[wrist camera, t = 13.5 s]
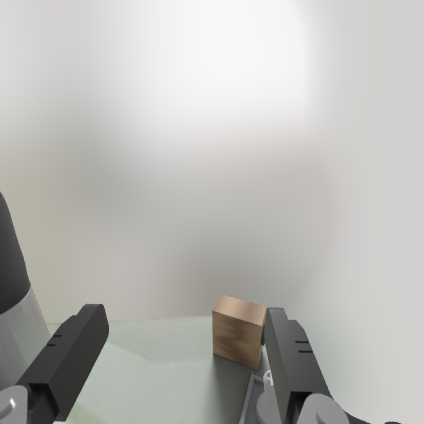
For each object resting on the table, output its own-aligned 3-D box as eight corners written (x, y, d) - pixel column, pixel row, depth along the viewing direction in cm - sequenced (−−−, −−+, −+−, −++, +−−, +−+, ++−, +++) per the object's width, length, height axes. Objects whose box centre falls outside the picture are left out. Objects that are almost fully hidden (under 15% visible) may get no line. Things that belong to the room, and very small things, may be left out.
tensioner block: (213, 353, 40) (212, 310, 37) (220, 335, 44) (221, 294, 40) (263, 372, 37) (267, 328, 33) (267, 351, 41) (272, 308, 37)
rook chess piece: (282, 396, 33) (289, 359, 30) (292, 435, 29) (301, 397, 26) (252, 397, 33) (255, 360, 30) (258, 436, 29) (262, 397, 26)
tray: (237, 434, 30) (237, 428, 29) (250, 379, 36) (251, 373, 36) (296, 464, 27) (298, 458, 27) (299, 399, 33) (301, 393, 33)
